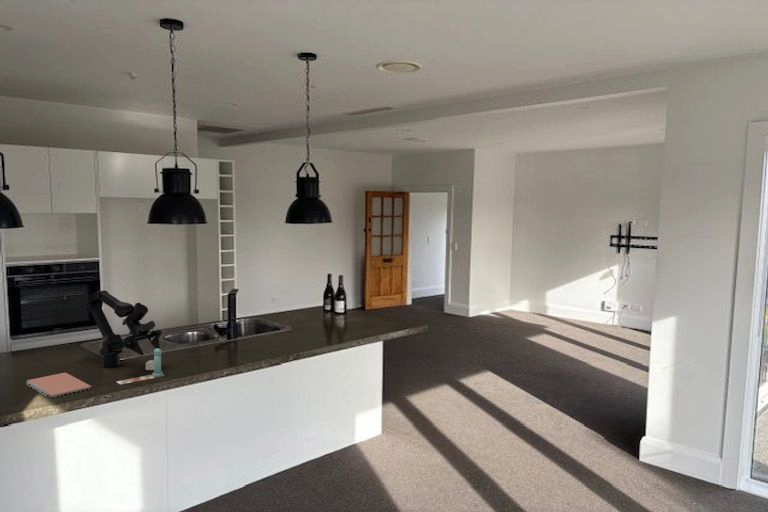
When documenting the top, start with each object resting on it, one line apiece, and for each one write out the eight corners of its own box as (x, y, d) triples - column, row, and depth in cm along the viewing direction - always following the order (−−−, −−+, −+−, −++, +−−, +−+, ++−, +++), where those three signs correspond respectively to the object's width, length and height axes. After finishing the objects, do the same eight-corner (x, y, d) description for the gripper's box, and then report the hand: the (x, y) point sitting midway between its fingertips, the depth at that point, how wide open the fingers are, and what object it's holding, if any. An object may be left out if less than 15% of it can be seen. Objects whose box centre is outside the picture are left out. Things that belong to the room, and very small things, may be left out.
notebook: (24, 384, 239) (24, 380, 239) (65, 376, 253) (65, 371, 252) (48, 400, 223) (48, 395, 222) (91, 390, 236) (91, 385, 236)
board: (119, 388, 238) (119, 385, 238) (114, 384, 242) (114, 381, 242) (166, 378, 252) (166, 375, 252) (160, 375, 257) (160, 372, 257)
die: (145, 372, 260) (145, 362, 259) (149, 369, 264) (149, 360, 264) (155, 372, 260) (155, 363, 259) (158, 369, 264) (158, 360, 264)
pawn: (151, 376, 250) (150, 349, 249) (154, 373, 254) (154, 347, 253) (160, 376, 250) (160, 349, 249) (164, 373, 255) (164, 347, 253)
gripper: (125, 319, 246) (142, 346, 242) (159, 313, 263) (175, 338, 259) (114, 334, 250) (130, 361, 246) (148, 326, 267) (164, 352, 263)
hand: (151, 352), depth 253 cm, fingers open, 9 cm apart
